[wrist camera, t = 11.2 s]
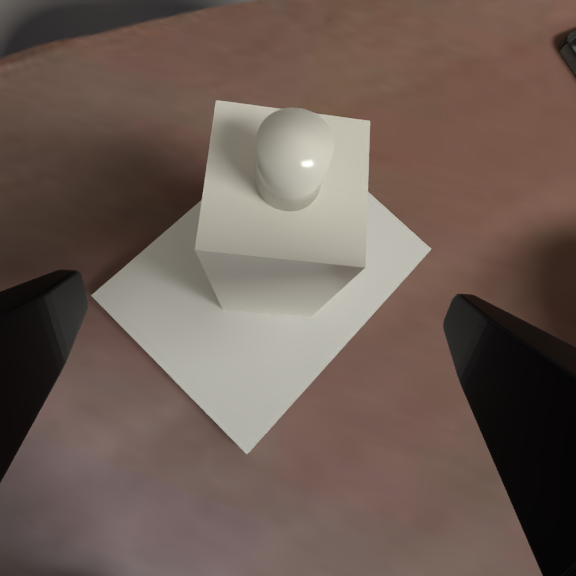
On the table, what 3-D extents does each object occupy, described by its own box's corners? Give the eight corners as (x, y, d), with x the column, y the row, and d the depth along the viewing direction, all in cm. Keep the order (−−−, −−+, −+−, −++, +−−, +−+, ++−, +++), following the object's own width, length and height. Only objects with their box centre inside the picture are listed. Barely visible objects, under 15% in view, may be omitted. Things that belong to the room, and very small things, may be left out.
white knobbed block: (310, 317, 21) (389, 245, 9) (222, 309, 21) (182, 222, 9) (315, 235, 22) (392, 73, 10) (232, 226, 22) (209, 46, 10)
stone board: (247, 450, 20) (247, 454, 19) (98, 298, 21) (91, 295, 20) (424, 254, 24) (431, 249, 23) (289, 132, 25) (291, 122, 24)
